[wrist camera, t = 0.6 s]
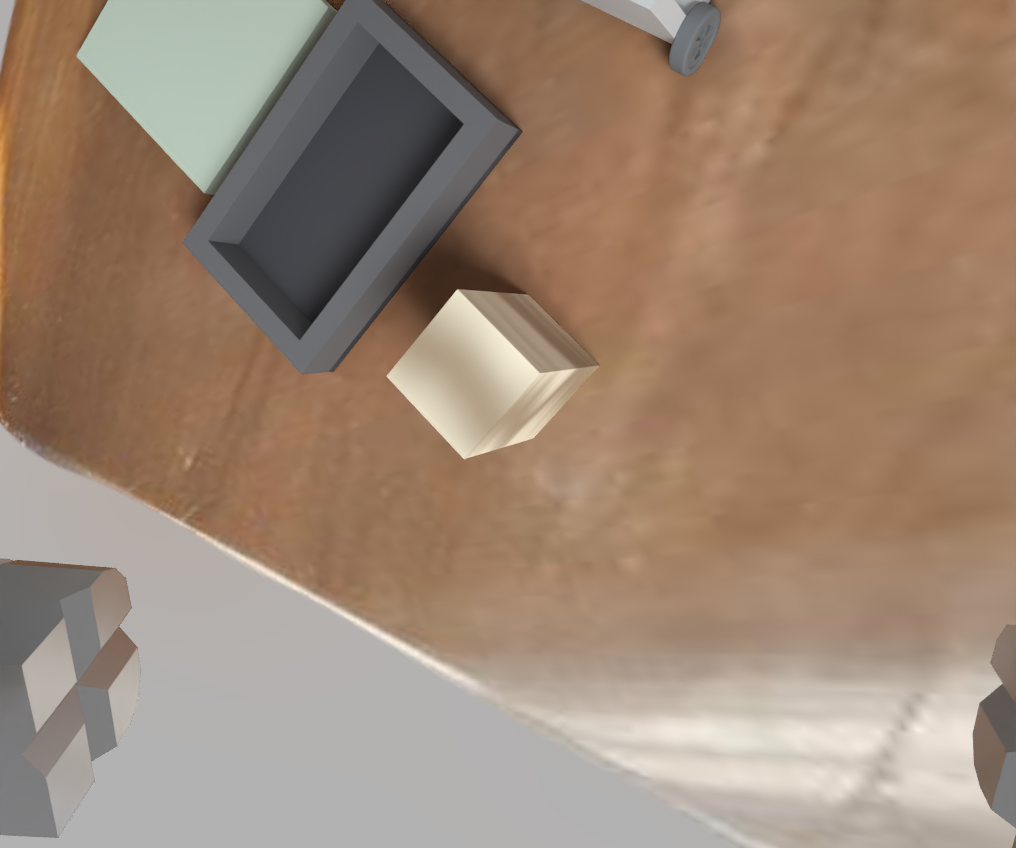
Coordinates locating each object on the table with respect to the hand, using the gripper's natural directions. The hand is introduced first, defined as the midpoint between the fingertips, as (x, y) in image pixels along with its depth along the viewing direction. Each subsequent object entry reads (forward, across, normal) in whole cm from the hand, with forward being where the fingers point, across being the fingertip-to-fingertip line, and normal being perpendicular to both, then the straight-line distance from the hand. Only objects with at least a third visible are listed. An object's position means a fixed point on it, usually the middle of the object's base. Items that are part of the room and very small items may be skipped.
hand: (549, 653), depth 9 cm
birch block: (+37, +2, +11) cm, 39 cm away
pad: (+48, +21, -4) cm, 53 cm away
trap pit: (+43, +11, +4) cm, 44 cm away
